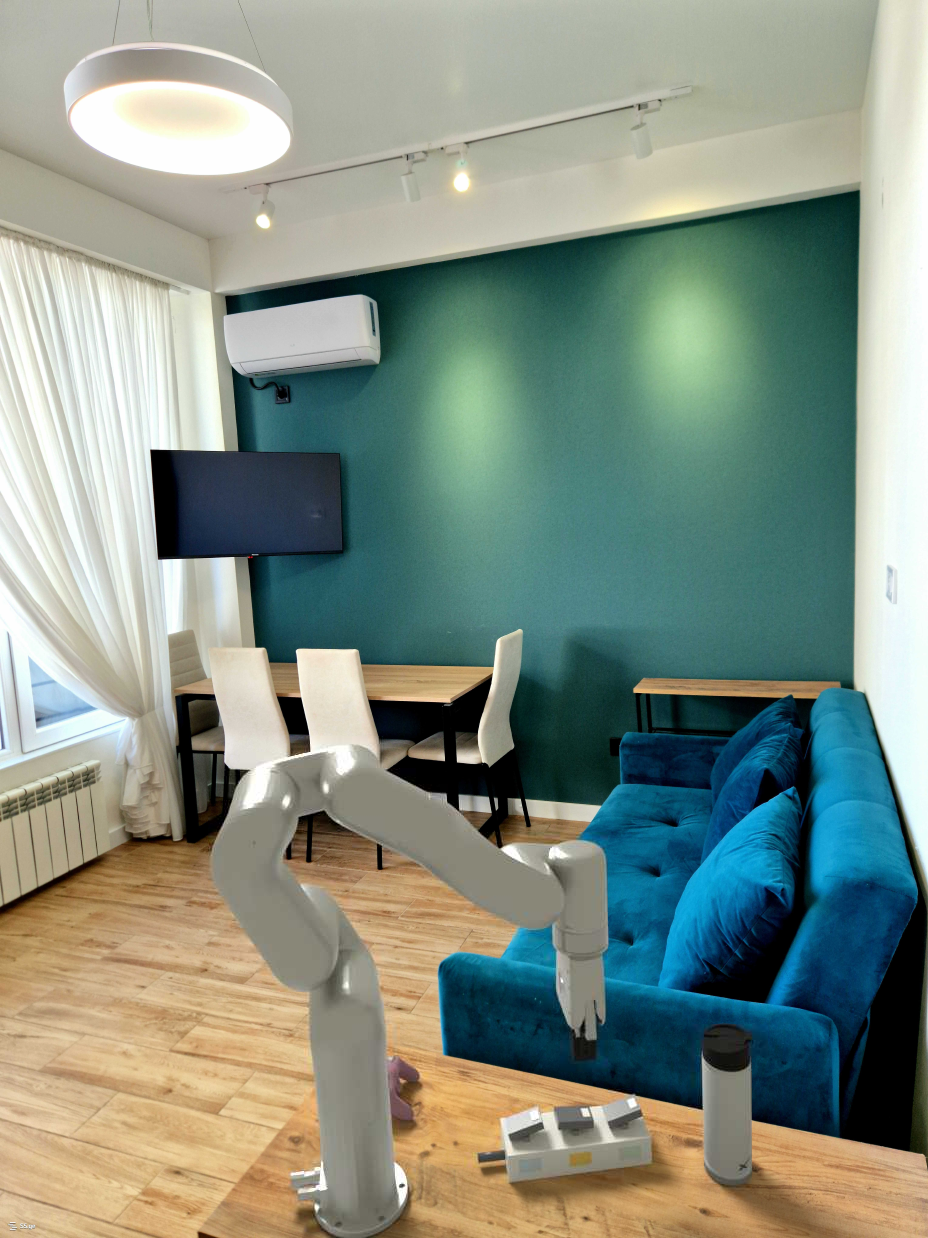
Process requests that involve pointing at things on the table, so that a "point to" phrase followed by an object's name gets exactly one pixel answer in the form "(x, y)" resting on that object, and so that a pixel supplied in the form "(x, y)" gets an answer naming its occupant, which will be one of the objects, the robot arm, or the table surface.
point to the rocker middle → (573, 1117)
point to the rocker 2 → (622, 1111)
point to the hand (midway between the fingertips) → (583, 1057)
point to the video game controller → (400, 1086)
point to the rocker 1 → (524, 1123)
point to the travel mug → (727, 1103)
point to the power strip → (572, 1148)
